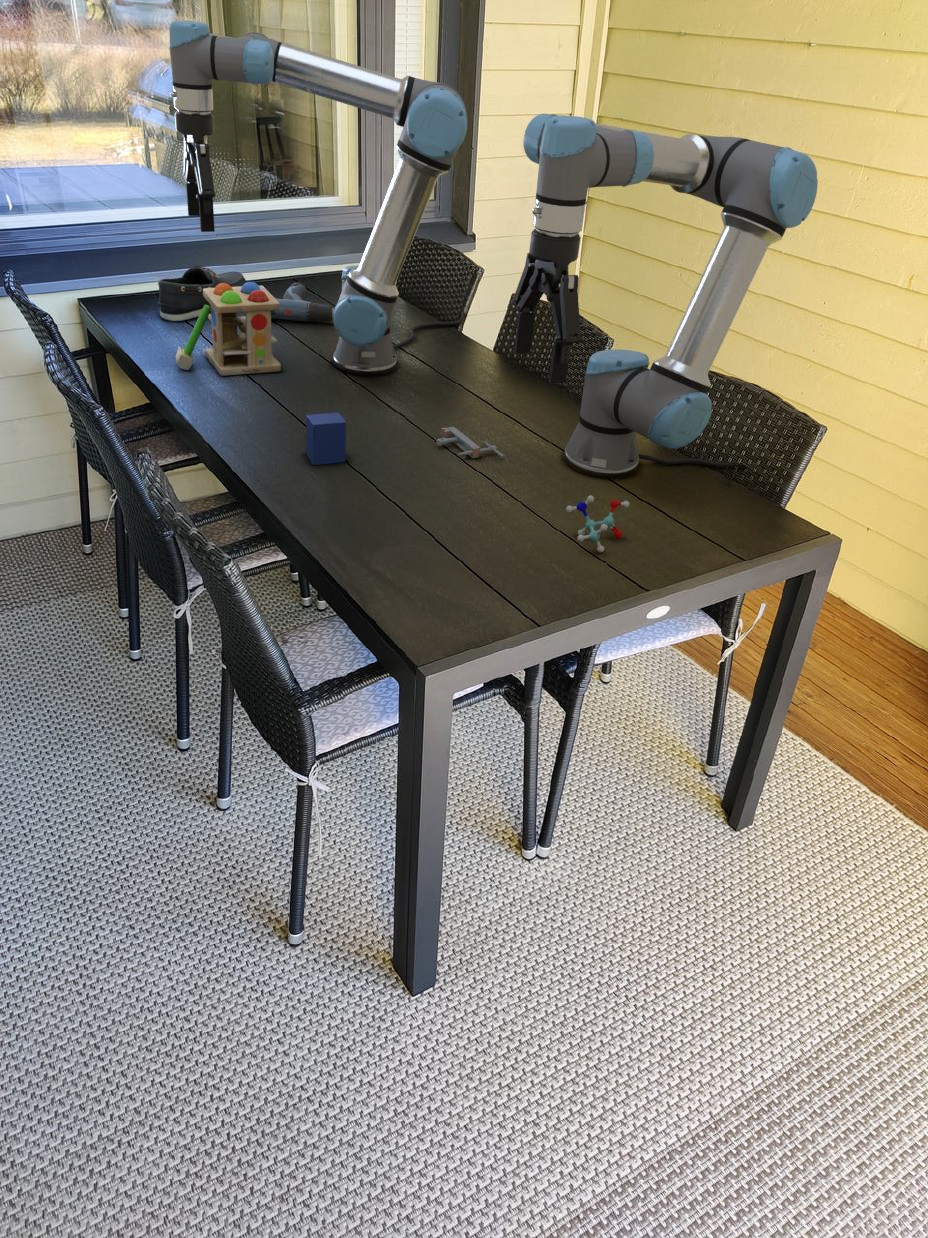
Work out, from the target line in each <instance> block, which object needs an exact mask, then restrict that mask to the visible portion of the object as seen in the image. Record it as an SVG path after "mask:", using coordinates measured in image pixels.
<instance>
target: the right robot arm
mask: <svg viewBox="0 0 928 1238" xmlns="http://www.w3.org/2000/svg"><path fill="white" fill-rule="evenodd" d="M528 122H529V123H528V124H527V125H526V127H525V130H524V135H523V144H522V145H523V150H524V153H525V155H526V157H527V158H528V159H529V161H531V162H533V163H534V164H537V165H538V171H537V182H536V191H535V192H536V193H535V201H534V207H533V208H532V214H533V219H532V226H533V227H534V229H533V230H532V231H531V233H530V242H529V250H528V251H529V252H527V253H526V258H525V264H524V267H523V270H522V273H521V276H520V279H519V281H518V283H517V287H516V290H515V292H514V295H513V298H512V303H513V306H515V305H516V312H517V313H518V314H517V321H516V322H517V324H516V333H515V342H514V348H513V349H514V350H513V352H514V354H531V352H532V344H533V335H534V327H535V320H536V319H535V318H536V312H537V308H536V306H537V305H538V303H539V302H540V300H541V299H542V297H543V296H544V295H545V298H546V301H547V302H548V303H550V309H551V313H552V314H551V315H552V319H553V325H554V330H555V335H556V338H555V339H554V340H553V341H552V345H553V346H552V352H551V361H550V366H549V367H550V368H549V374H548V375H549V376H548V380H547V381H548V382H547V383H549V384H563V383H564V384H565V383H567V378H568V377H567V376H568V369H569V363H570V357H571V348H572V345H573V344H580V343H581V342H582V337H581V335H582V334H581V321H580V320H581V319H580V306H579V284H580V283H579V281H580V277H579V275H578V274H570V273H569V266H570V264H571V263H573V262H575V261H577V260H578V258H579V254H580V253H579V252H580V246H581V235H580V232H582V231H583V225H584V218H585V213H586V205H587V204H586V203H587V197H588V196H587V195H588V191H589V189H592V188H606V187H609V188H610V187H623V188H624V187H625V188H626V187H629V186H633V185H638V184H640V183H642V182H645V183H652V184H653V183H654V184H659V185H666V186H670V187H671V189H672V190H673V191H675V192H676V193H680V194H687V195H690V196H694V197H695V198H699V199H701V200H704V201H705V202H708V203H711V204H713V205H715V206H718V207H720V208H722V210H721V212H720V219H721V221H722V224H723V229H722V231H721V233H720V235H719V238H718V240H717V241H716V243H715V246H714V248H713V251H712V252H711V255H710V256H709V259H708V261H707V264H706V265H705V268H704V269H703V272H702V274H701V276H700V278H699V281H698V283H697V286H696V287H695V290H694V292H693V294H692V296H691V299H690V300H689V303H688V305H687V307H686V309H685V311H684V313H683V316H682V318H681V320H680V322H679V325H678V327H677V329H676V331H675V333H674V335H673V338H672V340H671V342H670V344H669V346H668V348H667V350H666V353H665V354H664V355H663V356H662V357H660V358H656V359H654V360H653V361H652V364H651V365H650V357H649V356H648V355H647V354H646V353H644V352H641V351H637V350H630V349H604V350H600V351H597V352H594V353H593V354H591V356H590V357H589V359H588V362H587V366H586V371H585V372H584V380H583V387H582V396H581V402H580V408H579V409H580V410H579V417H578V421H577V424H576V427H575V429H574V430H573V433H572V434H571V436H570V438H569V440H568V441H567V443H566V446H565V448H564V454H563V460H564V462H565V463H566V464H567V465H568V466H569V467H570V468H571V469H573V470H574V471H577V472H579V473H581V474H585V475H588V476H592V477H596V478H605V479H607V478H608V479H616V478H617V479H619V478H624V477H629V476H630V475H632V474H634V473H635V472H636V471H637V469H638V468H639V467H638V466H639V461H640V460H644V461H649V462H654V463H657V464H660V465H669V466H670V465H682V464H683V465H684V464H697V465H702V466H708V467H714V468H725V469H726V468H732V467H737V466H738V465H736V464H737V462H736V461H737V460H734V461H729V462H719V461H711V460H705V459H699V458H698V459H697V458H678V459H665V458H659V457H656V456H652V455H649V454H648V455H647V454H643V453H639V448H638V440H637V434H638V435H640V436H641V437H644V438H645V439H647V440H649V441H650V443H653V444H656V445H659V446H662V447H664V448H667V449H670V450H677V449H680V448H684V447H686V446H687V445H688V444H690V443H692V442H693V441H695V440H696V439H697V438H698V437H699V436H700V435H701V434H702V433H703V431H704V430H705V429H706V427H707V425H708V423H709V421H710V419H711V416H712V410H711V409H712V408H713V403H712V400H711V398H710V397H709V396H708V393H709V391H710V389H711V387H712V384H711V381H710V378H709V372H710V370H711V368H712V366H713V364H714V362H715V360H716V357H717V355H718V353H719V351H720V349H721V346H722V345H723V342H724V340H725V338H726V336H727V335H728V332H729V330H730V329H731V326H732V324H733V322H734V319H735V318H736V316H737V313H738V311H739V309H740V307H741V305H742V303H743V300H744V298H745V297H746V294H747V292H748V290H749V288H750V286H751V284H752V282H753V279H754V278H755V276H756V274H757V272H758V269H759V267H760V265H761V263H762V261H763V259H764V256H765V255H766V252H767V251H768V248H769V247H770V246H771V245H774V244H775V243H777V242H780V241H782V239H783V236H784V235H785V233H786V232H787V229H792V228H796V227H799V226H800V225H801V224H802V222H804V221H805V220H806V219H807V218H808V216H810V213H811V212H812V209H813V207H814V205H815V202H816V199H817V193H818V184H819V180H818V171H817V167H816V164H815V162H814V161H813V159H812V158H811V156H809V155H808V154H806V153H805V152H801V151H798V150H795V149H793V148H791V147H788V146H780V145H775V144H770V143H766V142H761V141H756V140H752V139H749V138H745V137H739V136H737V137H736V136H717V135H716V136H713V135H699V134H694V133H688V134H685V135H682V136H681V137H675V136H671V135H670V136H669V135H663V134H657V133H653V132H647V131H643V130H636V129H630V128H625V127H619V126H614V125H608V124H603V123H597V122H596V121H594V119H591V118H588V117H583V116H577V115H565V114H555V113H539V114H537V115H535V116H533V118H532V119H531V120H530V121H528ZM534 312H535V313H534ZM649 366H650V368H649ZM636 433H637V434H636ZM739 466H741V467H743V468H744V469H745V470H751V467H750V466H749V467H750V468H749V467H747V466H745V465H739Z"/></svg>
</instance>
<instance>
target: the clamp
mask: <svg viewBox="0 0 928 1238" xmlns="http://www.w3.org/2000/svg"><path fill="white" fill-rule="evenodd" d="M452 443H453V444H454V445H456V446H457V447H458V448H459V449H460V450H462V451H463V452H458V453H457V456H458V457H460V456H469V457H470V458H472V459H477V458H480V454H482V453H487V452H488V453H496V454H497V455H498V456H499V457H500V459H502V460H504V459H506V457H507V456H506V454H504V453H501V452H500V451H499V450H498V447H497V446H496V445H495V444H494V445H491V444H490V443H489V442H488V441H486V440H485V441H484V442H483V446H484V447H483V448H481V447H480V446H479V444H476V443H475V442H474V441H473V440H471V439H470V438H469V437H468V436H466V435H465V434H464V433H463V432H461V431H460V430H459V429H457V428H456V427H455V426H450V427H441V429H440V437H439V438H436V444H437V445H438V446H439V447H441V446H448V445H449V444H452Z"/></svg>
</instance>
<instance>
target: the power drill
mask: <svg viewBox="0 0 928 1238" xmlns="http://www.w3.org/2000/svg"><path fill="white" fill-rule="evenodd" d="M307 295H308V290H307V287H306V285H304V284H303V283H301V282H293V283H292V284H291V285H290V286H289V287H288V288H287V289H286V291H285V292H284V294H283V297H282V298H275V299H276V300H277V301H278V302H279V303H280V310H271V319H274V320H275V319H276V320H283V321H294V322H295V321H297V322H332V321H334V320H333V312H334V309H335V307H333V306H332V305H331V304H324V303H317V302H313V301H307V300H305V299H306V297H307Z"/></svg>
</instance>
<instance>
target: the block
mask: <svg viewBox="0 0 928 1238" xmlns="http://www.w3.org/2000/svg"><path fill="white" fill-rule="evenodd" d="M305 438H306V439H305V447H306V449H305V450H306V451H305V454H306V457H307V458H308V459H309V461H310V462H311V465H313V466H318V465H319V466H320V465H329V464H339V463H346V450H347V449H346V448H347V447H346V446H347V421H346V420H345V419H344V417H343V416H342V414H340V412H325V413H315V414H314V413H313V414H306V415H305Z"/></svg>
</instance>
